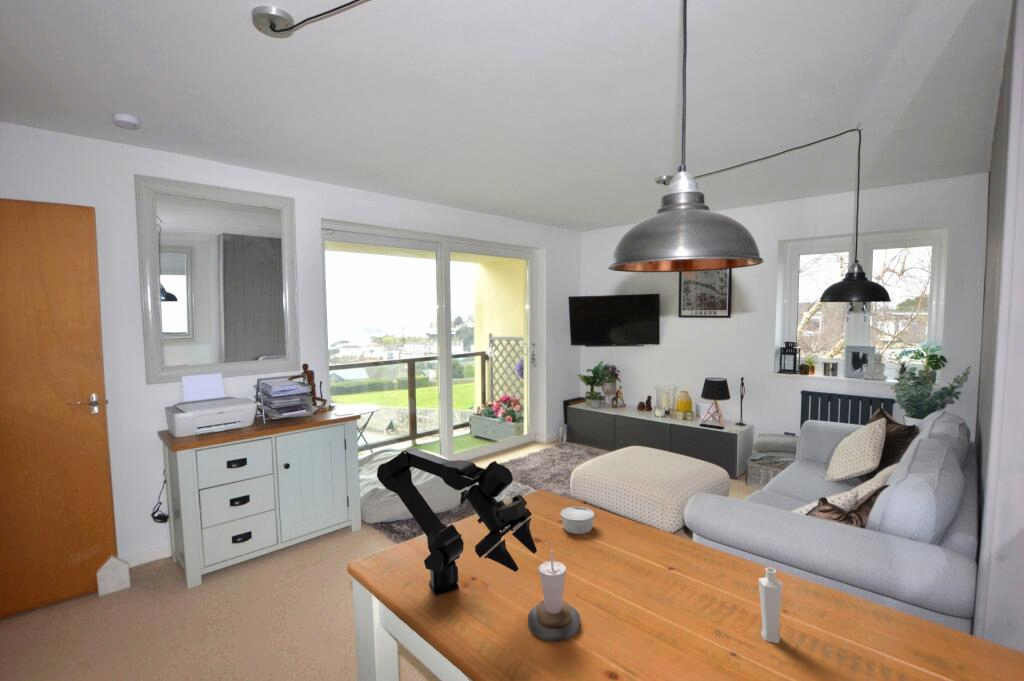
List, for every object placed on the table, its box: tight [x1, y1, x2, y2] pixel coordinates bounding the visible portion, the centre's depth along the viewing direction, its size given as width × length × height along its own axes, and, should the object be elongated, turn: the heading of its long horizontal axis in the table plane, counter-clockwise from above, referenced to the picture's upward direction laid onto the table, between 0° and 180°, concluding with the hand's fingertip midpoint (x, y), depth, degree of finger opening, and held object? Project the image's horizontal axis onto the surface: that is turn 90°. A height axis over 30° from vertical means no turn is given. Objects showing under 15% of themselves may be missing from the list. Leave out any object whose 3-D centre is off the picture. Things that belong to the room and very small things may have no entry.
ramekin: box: [560, 506, 595, 535], centre depth 156 cm, size 11×11×5 cm
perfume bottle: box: [758, 567, 783, 644], centre depth 101 cm, size 5×4×15 cm
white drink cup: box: [538, 549, 567, 614], centre depth 108 cm, size 6×6×14 cm
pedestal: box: [527, 599, 581, 643], centre depth 108 cm, size 12×12×4 cm
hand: (526, 561), depth 111 cm, fingers open, 9 cm apart
